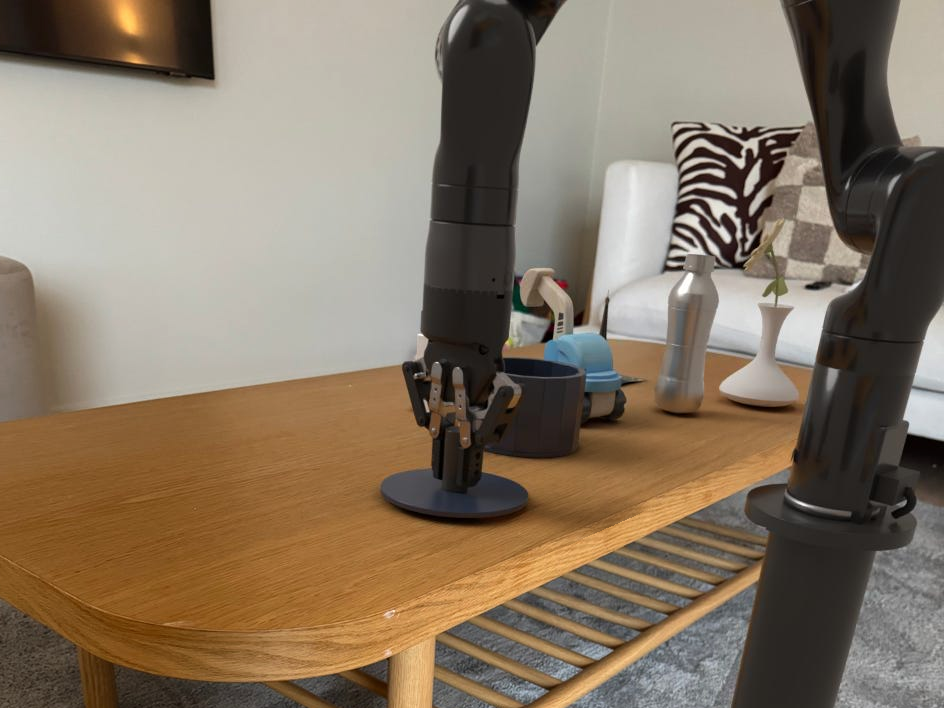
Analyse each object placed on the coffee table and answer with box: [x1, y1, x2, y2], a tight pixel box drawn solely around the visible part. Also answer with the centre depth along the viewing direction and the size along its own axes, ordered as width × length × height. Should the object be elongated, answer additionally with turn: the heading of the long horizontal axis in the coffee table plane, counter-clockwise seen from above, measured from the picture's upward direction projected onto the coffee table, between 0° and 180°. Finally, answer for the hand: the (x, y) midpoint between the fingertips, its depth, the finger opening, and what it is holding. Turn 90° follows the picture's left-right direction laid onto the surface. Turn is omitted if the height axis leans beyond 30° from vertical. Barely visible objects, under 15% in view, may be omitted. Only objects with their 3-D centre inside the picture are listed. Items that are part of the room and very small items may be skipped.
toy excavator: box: [519, 267, 627, 425], centre depth 122 cm, size 9×17×17 cm, turn 37°
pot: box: [469, 356, 587, 459], centre depth 108 cm, size 13×18×8 cm
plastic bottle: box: [653, 253, 720, 415], centre depth 126 cm, size 6×7×20 cm
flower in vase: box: [718, 217, 800, 408], centre depth 134 cm, size 13×11×25 cm
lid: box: [379, 425, 530, 519], centre depth 87 cm, size 14×14×7 cm
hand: (455, 481), depth 87 cm, fingers closed on lid, 2 cm apart
